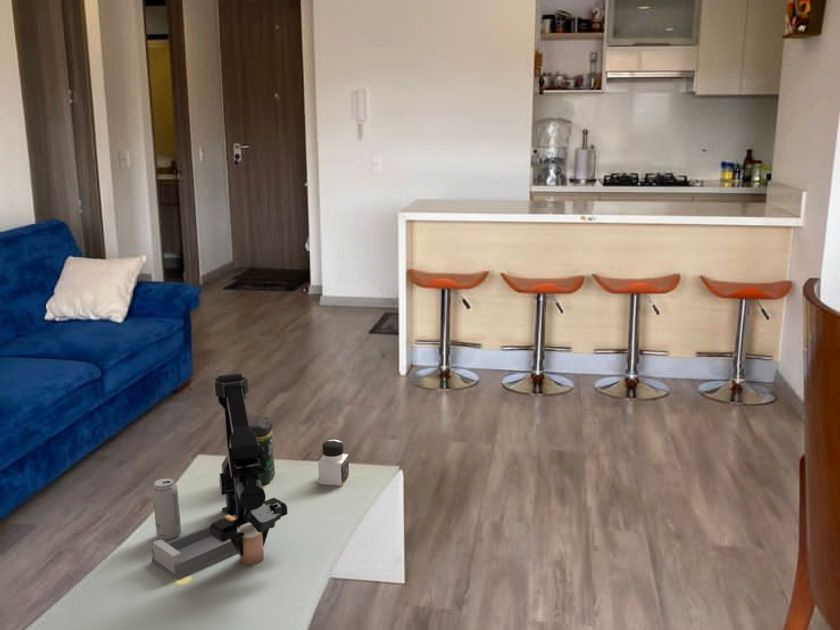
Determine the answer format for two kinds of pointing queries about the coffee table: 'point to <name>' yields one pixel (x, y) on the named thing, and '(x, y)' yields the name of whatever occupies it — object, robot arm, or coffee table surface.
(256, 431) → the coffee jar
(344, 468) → the medicine bottle
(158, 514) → the energy drink can
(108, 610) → the coffee table surface
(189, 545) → the lane
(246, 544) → the jar
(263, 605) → the coffee table surface
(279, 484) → the coffee table surface
